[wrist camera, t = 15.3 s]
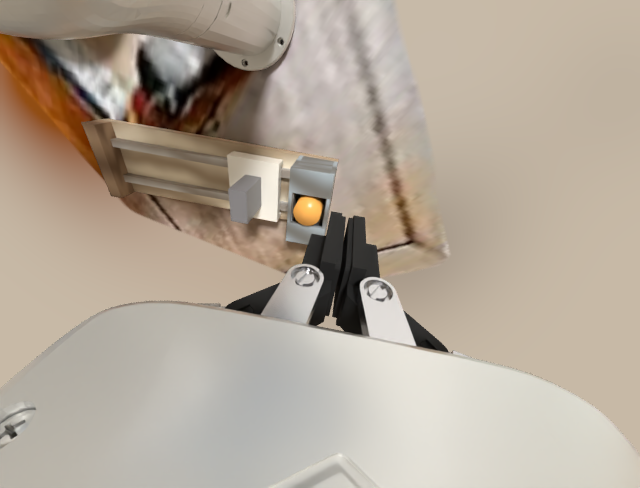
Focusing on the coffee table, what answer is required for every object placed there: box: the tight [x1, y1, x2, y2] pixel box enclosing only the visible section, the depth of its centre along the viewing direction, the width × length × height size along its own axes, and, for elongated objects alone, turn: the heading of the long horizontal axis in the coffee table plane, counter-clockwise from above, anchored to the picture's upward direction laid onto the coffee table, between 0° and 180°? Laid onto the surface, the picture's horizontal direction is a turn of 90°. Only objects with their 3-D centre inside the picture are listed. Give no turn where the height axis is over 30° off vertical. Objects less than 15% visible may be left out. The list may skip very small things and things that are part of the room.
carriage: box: [227, 151, 283, 224], centre depth 37 cm, size 10×8×8 cm
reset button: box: [293, 194, 324, 226], centre depth 37 cm, size 4×4×5 cm
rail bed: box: [81, 119, 339, 245], centre depth 39 cm, size 12×39×8 cm, turn 82°
